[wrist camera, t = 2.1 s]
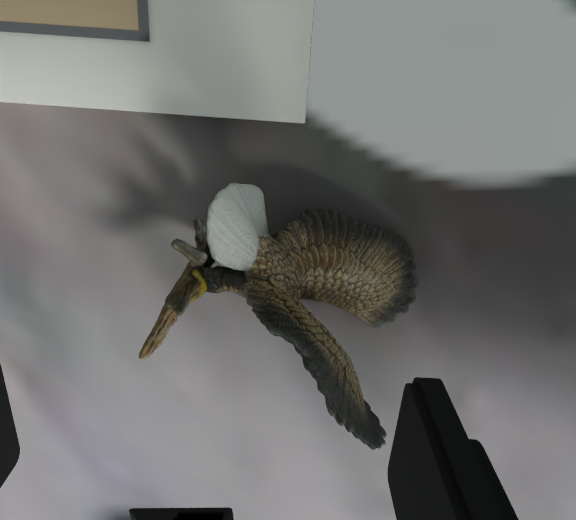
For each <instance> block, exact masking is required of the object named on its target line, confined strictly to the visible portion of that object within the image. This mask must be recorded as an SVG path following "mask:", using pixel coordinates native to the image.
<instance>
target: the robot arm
mask: <svg viewBox="0 0 576 520" xmlns="http://www.w3.org/2000/svg"><path fill="white" fill-rule="evenodd" d="M19 454H20V446H19V442H18V438H17V433H16V429H15V424H14V420H13V416H12V411H11V407H10V403H9V398H8V394H7V390H6V385H5V381H4V377H3V372H2V368H1V365H0V488H1V486H2V485H3V483H4V482H5V480H6V479H7V477H8V476H9V474H10V473H11V471H12V470H13V468H14V467H15V465H16V463H17V461H18V458H19ZM388 483H389V487H390V492H391V496H392V501H393V505H394V510H395V514H396V519H397V520H518V518H517V516H516V514H515V512H514V509H513V507H512V505H511V503H510V501H509V499H508V497H507V495H506V493H505V491H504V489H503V487H502V485H501V483H500V481H499V478H498V476H497V474H496V472H495V470H494V468H493V466H492V464H491V462H490V460H489V458H488V456H487V454H486V452H485V450H484V448H483V446H482V445H481V443H480V442H479V441H477V440H473V439H468V437H467V435H466V432H465V430H464V428H463V426H462V424H461V421H460V419H459V417H458V415H457V413H456V410H455V408H454V406H453V404H452V402H451V399H450V397H449V395H448V393H447V391H446V389H445V386H444V384H443V382H442V381H441V380H440V379H436V378H418V377H416V378H414V380H413V383H407V384H406V385H405V388H404V392H403V397H402V402H401V407H400V412H399V417H398V421H397V426H396V431H395V436H394V441H393V446H392V450H391V455H390V460H389V465H388Z"/></svg>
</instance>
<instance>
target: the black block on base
mask: <svg viewBox="0 0 576 520" xmlns="http://www.w3.org/2000/svg"><path fill="white" fill-rule="evenodd" d="M129 513H130V516H131V520H234V519H233V512H232V509H231V508H134V509H130V510H129Z"/></svg>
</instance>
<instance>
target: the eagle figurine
mask: <svg viewBox="0 0 576 520" xmlns="http://www.w3.org/2000/svg"><path fill="white" fill-rule="evenodd" d="M206 225H207V232H206V227H205V224H204V222H203V220H202V219H201V218H200V217H197V218H195V220H194V227H195V230H196V235H195V241H196V245H197V248H194V247H192V246H190V245H189V244H187V243H185V242H184V241H182V240H178V239H176V240H174V241H173V242H172V243H171V245H172V247H173V248H174V249H176V250H177V251H179V252H181V253H182V254H183V255H184V256H185V257H187V258H188V259H189V260H190V261H189V263H188V265H187V266H186V268H185V270H184V272H183V273H182V275H181V277H180V278H179V279H178V281H177V282H176V284H175V285H174V287H173V289H172V290H171V292H170V294H169V295H168V296H167V298H166V300H165V304H164V306H163V308H162V310H161V313H160V315H159V317H158V319H157V321H156V323H155V325H154V327H153V329H152V331H151V333H150V334H149V336H148V338H147V339H146V341H145V343H144V345H143V347H142V349H141V351H140V353H139V358H140V359H145V358H147V357H149V356H150V355H151V354H152V353H153V352H154V351H155V350H156V349H157V348H158V347H159V346H160V345H161V343H162V342H163V340H164V339H165V337H166V335H167V333H168V331H169V329H170V327H171V326H172V325H173V324H174V323H175V321H176V320H177V316H178V315H179V316H180V315H182V314H183V313H184V311H185V310H186V308H187V306H188V304H189V303H191V302H193V301H194V300H196V299H197V298H199V297H200V296H201V295H202V294H203V293H205V292H211V293H219V292H223V291H229V292H232V293H236V294H239V295H240V296H243V297H246V298H247V304H248V305H250V306H252V307H253V308H252V310H253V312H254V313H255V314H256V316H257V318H258V319H260V321H261V323H262V324H263V325H265V326H266V328H267V329H268V331H269V332H270V333H271V334H273V335H275V336H281V337H283V338H284V339H285V340H286V341H288V342H290V343H292V344H293V345H294V347H295V350H296V351H297V353H299V354H300V355H301V356H302V358H303V364H304V367H305V369H306V370H308V371H309V372H310V373H311V375H312V377H313V378H314V379H315V380H316V381H317V386H318V390H319V391H320V392H321V393H322V394H323V395H324V396H325V399H326V406H327V409H328V412H329V414H330V415H331V416H334V417H335V419H336V421H337V423H338V424H339V425H341V426H343V425H345V427H346V429H347V431H348V432H352V434H353V435H354V436H355V437H356V438H357V439H360V440H361V441H362V442H363V443H364V444H367V445H368V446H369V447H370V448H371V449H373V450H375V449H376V448H381V446H382V445H385V444H386V443H385V440H384V439H383V438H385V437H386V435H387V434H386V432H385V430H384V429H383V428H382V427H381V426H380V421H379V419H378V417H377V416H376V415H375V414H374V413H373V412H372V411H371V410H370V406H369V404H368V403H367V402H366V401H365V400H364V399H363V394H362V391H361V387H360V384H359V380H358V377H357V374H356V372H355V369H354V367H353V364H352V361H351V359H350V358H349V356H348V355H347V353H346V352H345V351H344V350H343V348H342V347H341V346H340V345H339V343H338V342H337V341H336V339H335V338H334V337H333V336H332V334H331V333H330V332H329V331H328V330H327V329H326V328H325V326H324V325H323V324H322V323H320V322H319V321H318V320H317V319H316V318H315V316H313V314H312V313H311V312H309V311H308V310H307V309H306V308H305V307H304V305H303V304H302V303H301V302H300V300H301V299H308V300H314V301H319V302H325V303H329V304H331V305H334V306H337V307H339V308H341V309H343V310H346V311H349V312H352V313H353V314H354V315H356V316H357V317H358V318H359V319H361V320H362V321H364V322H365V323H366V324H367V325H369V326H371V327H373V328H380V327H381V326H382V324H383V323H385V322H392V321H394V319H395V317H396V314H404V313H406V312H407V311H408V309H409V307H408V304H410V303H413V302H414V301H415V299H416V296H415V293H414V288H416V287H417V286H418V280H417V278H416V277H415V275H413V274H412V273H411V271H413V270H414V269H415V268H416V264H415V262H413V261H412V260H411V257H412V256H413V253H412V250H411V249H410V248H409V246H408V244H406V243H405V242H403V238H402V237H401V236H400V235H395V234H394V231H392V230H390V229H388V230H384V229H382V228H381V227H378V226H376V225H369V226H366V223H364V222H360V221H357V220H356V219H355V218H354V219H353V218H349V219H347V218H346V217H345V215H344V214H343V213H338V212H337V211H336V210H334V209H329V210H327V209H324V208H322V209H318V210H313V209H306V210H305V212H301V213H298V214H297V218H296V220H295V221H292V222H290V223H288V224H287V226H286V230H278V231H277V232H276V233H275V235H274V236H271V235H270V233H269V230H268V225H267V218H266V213H265V204H264V195H263V192H262V190H260V188H259V187H257V186H255V185H251V184H238V183H230V184H229V185H228V186H227V187H226V188H224V189H222V190H220V191H219V192H218V193H217V194H216V196H215V198H214V200H213V201H212V202H211V204H210V206H209V208H208V219H207V223H206ZM216 262H217V263H218V264H219V265H222V267H221V266H216V267H213V268H211V266H212V265H213V264H214V263H216ZM231 268H233V269H237V270H233V269H231Z"/></svg>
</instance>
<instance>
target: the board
mask: <svg viewBox="0 0 576 520" xmlns="http://www.w3.org/2000/svg"><path fill="white" fill-rule="evenodd" d="M313 13H314V0H0V102H9V103H23V104H37V105H51V106H65V107H79V108H93V109H107V110H121V111H135V112H149V113H163V114H178V115H192V116H206V117H220V118H234V119H248V120H262V121H276V122H290V123H304V124H305V118H306V105H307V92H308V78H309V65H310V52H311V39H312V26H313Z"/></svg>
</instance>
